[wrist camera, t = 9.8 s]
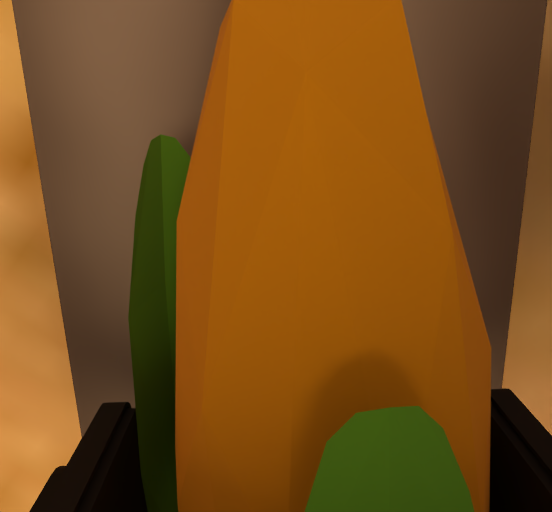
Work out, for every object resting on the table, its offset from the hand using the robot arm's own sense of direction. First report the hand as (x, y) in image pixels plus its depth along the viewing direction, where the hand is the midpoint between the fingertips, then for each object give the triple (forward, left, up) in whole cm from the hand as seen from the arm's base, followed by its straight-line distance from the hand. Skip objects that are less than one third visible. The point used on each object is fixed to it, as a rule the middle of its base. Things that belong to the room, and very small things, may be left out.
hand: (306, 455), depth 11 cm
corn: (0, 0, -2) cm, 2 cm away
